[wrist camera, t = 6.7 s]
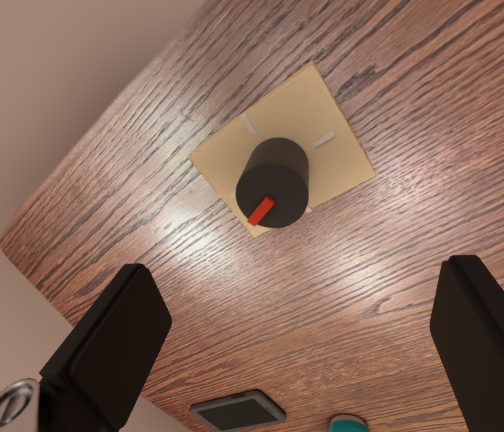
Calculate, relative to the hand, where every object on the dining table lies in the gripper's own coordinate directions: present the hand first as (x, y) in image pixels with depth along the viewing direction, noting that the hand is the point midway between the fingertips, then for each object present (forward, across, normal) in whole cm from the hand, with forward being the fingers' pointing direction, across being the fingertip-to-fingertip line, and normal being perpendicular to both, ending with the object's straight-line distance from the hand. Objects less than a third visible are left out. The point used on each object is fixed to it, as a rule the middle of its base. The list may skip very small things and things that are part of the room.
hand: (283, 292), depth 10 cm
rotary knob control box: (+15, +1, 0) cm, 15 cm away
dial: (+12, +1, 0) cm, 12 cm away
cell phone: (+14, +13, +40) cm, 44 cm away
